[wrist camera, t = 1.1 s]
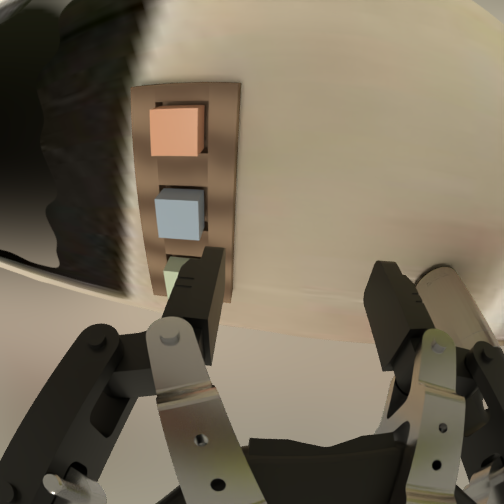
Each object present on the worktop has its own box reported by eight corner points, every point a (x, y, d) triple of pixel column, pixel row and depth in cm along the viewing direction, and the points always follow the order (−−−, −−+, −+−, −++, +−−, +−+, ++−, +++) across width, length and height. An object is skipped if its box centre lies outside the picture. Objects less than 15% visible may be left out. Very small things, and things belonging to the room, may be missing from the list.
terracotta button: (203, 148, 31) (197, 156, 28) (161, 148, 31) (151, 155, 28) (204, 104, 28) (197, 108, 25) (160, 105, 28) (149, 109, 25)
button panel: (232, 289, 46) (230, 302, 43) (159, 282, 46) (153, 294, 43) (241, 82, 29) (238, 83, 26) (141, 85, 29) (130, 87, 26)
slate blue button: (204, 226, 36) (199, 240, 34) (166, 224, 36) (158, 237, 34) (203, 189, 33) (197, 201, 31) (163, 188, 34) (154, 199, 31)
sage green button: (206, 287, 42) (202, 302, 39) (173, 284, 42) (167, 298, 39) (205, 259, 39) (200, 274, 36) (170, 256, 39) (163, 270, 37)
